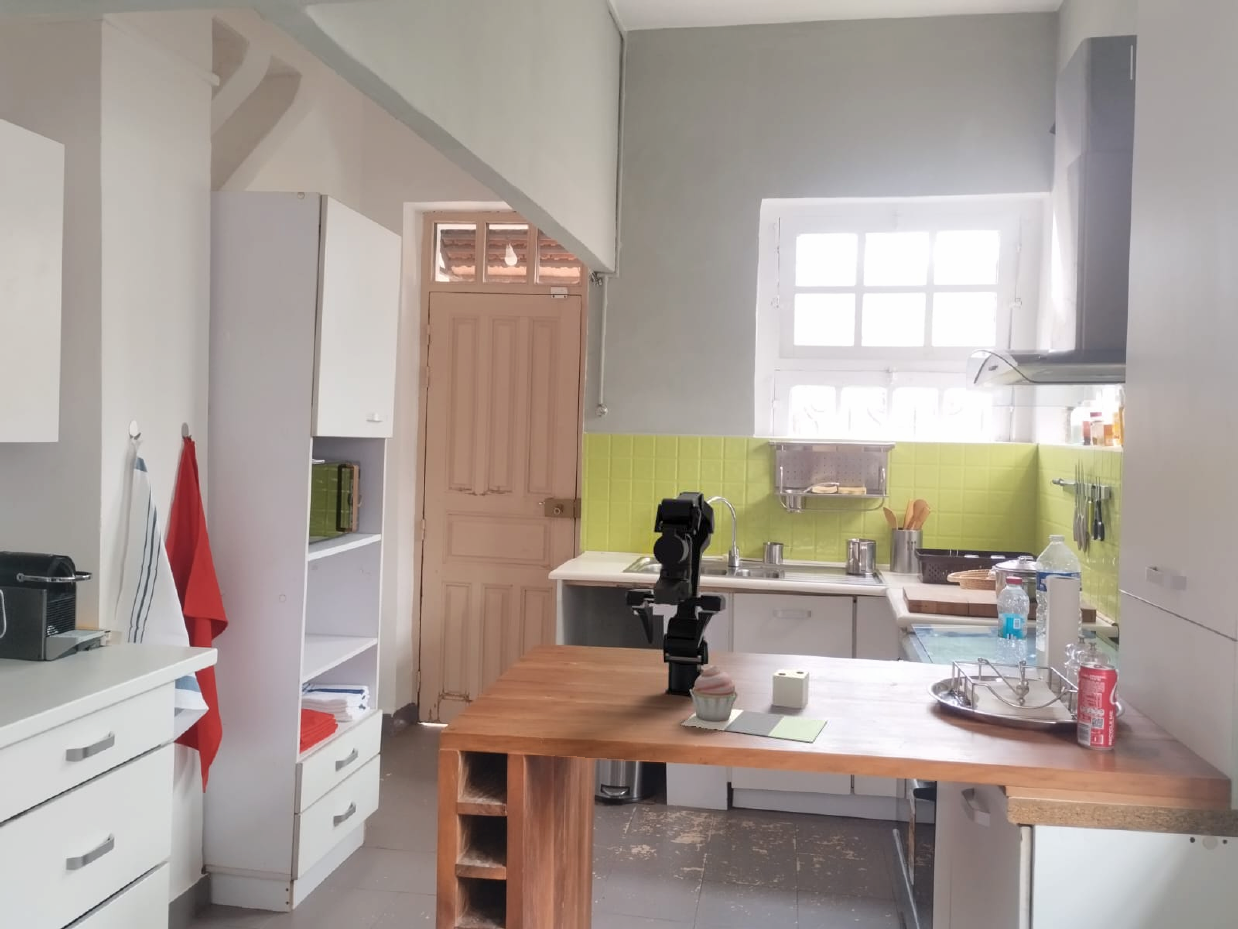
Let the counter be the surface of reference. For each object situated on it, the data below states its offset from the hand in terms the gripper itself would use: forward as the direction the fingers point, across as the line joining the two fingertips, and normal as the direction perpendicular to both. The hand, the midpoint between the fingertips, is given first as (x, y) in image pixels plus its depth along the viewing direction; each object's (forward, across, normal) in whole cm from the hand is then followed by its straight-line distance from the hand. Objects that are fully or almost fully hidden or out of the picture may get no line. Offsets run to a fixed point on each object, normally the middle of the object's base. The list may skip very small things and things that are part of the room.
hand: (673, 645), depth 186 cm
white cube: (+12, +20, +17) cm, 29 cm away
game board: (+13, +16, 0) cm, 21 cm away
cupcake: (+13, +8, +1) cm, 15 cm away
